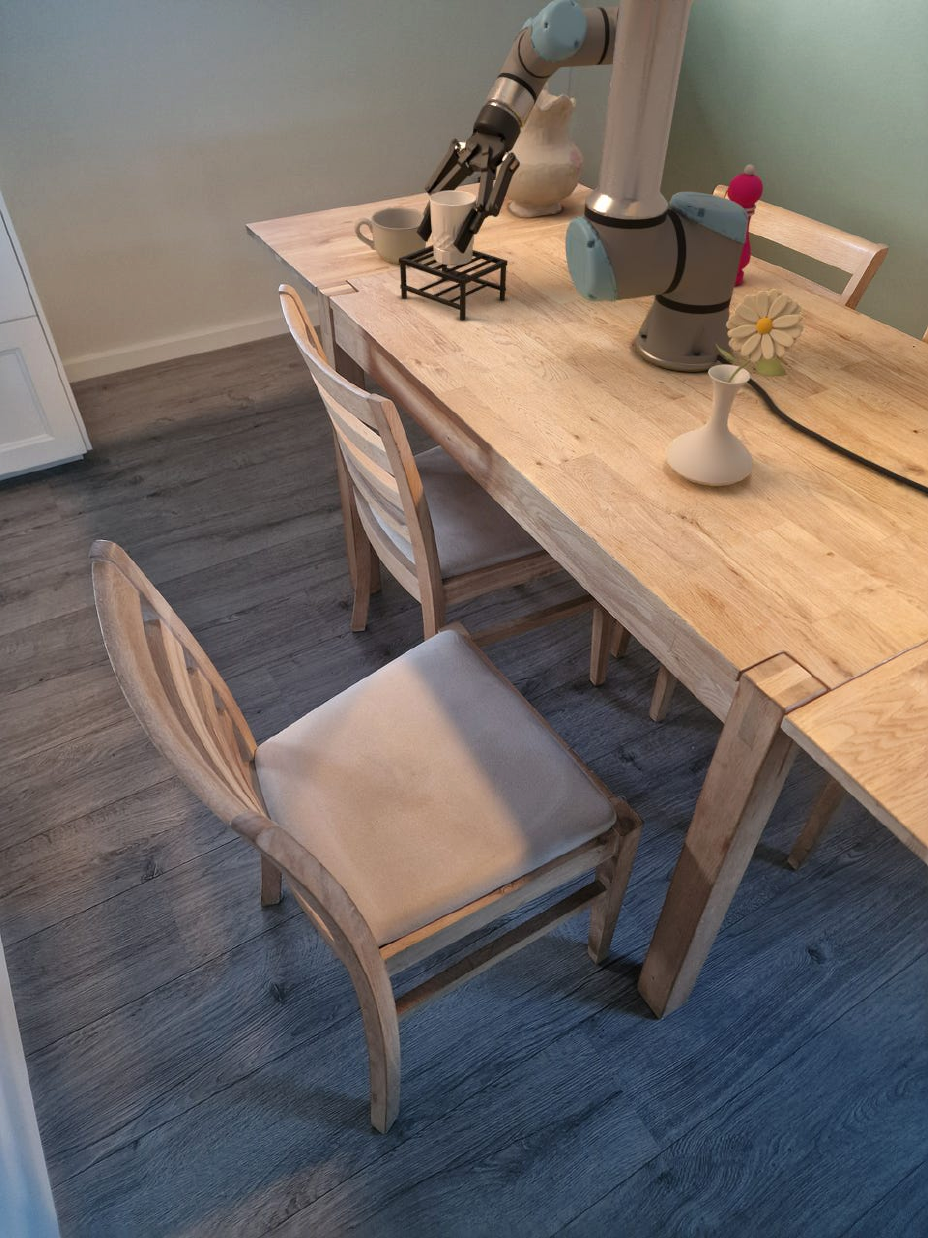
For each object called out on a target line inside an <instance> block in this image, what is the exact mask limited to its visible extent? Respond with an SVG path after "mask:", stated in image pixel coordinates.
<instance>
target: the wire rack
mask: <svg viewBox="0 0 928 1238" xmlns="http://www.w3.org/2000/svg"><path fill="white" fill-rule="evenodd" d="M433 245H434V244H432V245H430V246H427V247H425V248H424V249H422V250H419V251H417V252H414V253H412V254H409V255H407V256H404V257H401V258H399V263H400V264H399V272H400V285H399V288H400V294H401V295H400V296H401V299H404V300H405V299H407V298H408V292H409V293H412V294H413V295H417V296H420V297H422V298H425V299H428V300H430V301H433V302H436V303H440V304H441V305H444V306H447V307H450V308H452V309H455V310H458V311H459V320H460V321H466V319H467V317H466V315H467V314H466V311H467V297H468V296H470V295H472V294H474V293H477V292H478V291H481V290H483V289H485V288H491V289H493V290H497V291H499V298H498V299H499V301H500V302H504V301H505V300H506V292H507V285H506V284H507V282H506V281H507V266H508V260H506V259H504V258H500V257H497V256H494V255H491V254H487V253H485V252H481V251H478V250H475V249H473V257H472V260H471V261H470V262H468V263H466V264H462V265H454V266H453V267H448V266H449V265H445V264H441V263H440V264H439V265H436V266H434V267H432V266H431V265H434V264H436V263H438V262H437V261H436V260H435V259H432V260H430V261H427V262H425V263H420V262H423V261H426V260H428V259H431V258H434V248H433ZM416 258H417V259H416ZM413 259H416V260H414V261H411V260H413ZM481 260H483V262H480V263H478V264H476V265H474V266H471V267H469V268H466V269H464V270H462V271H459V269H461V268H464V267H466V266H468V265H471V264H473V263H474V262H475V263H476V262H478V261H481ZM491 263H492V264H491ZM489 264H491V265H489ZM487 265H488V266H487ZM485 266H487V267H485ZM407 267H410V268H413V269H415V270H418V271H420V272H424V273H426V274H429V275H432V276H436V277H438V278H441V279H439V280H437V281H435V282H432V283H430V284H428V285H426V286H422V287H421V288H416V287H413V286H410V285H407ZM482 267H484V268H482ZM480 268H482V269H480ZM478 269H480V270H478ZM475 270H478V271H476V272H473V271H475ZM497 270H500V275H499V284H497V283H495V282H492V281H489V280H486V279H484V278H482V277H484V276H487V275H488V274H491V273H493V272H495V271H497ZM470 272H473V273H471V274H469V273H470ZM447 281H450V282H452V283H456V284H454V285H452V286H449V287H448V288H446V289H443V290H441V291H439V292H436V293H434V294H432V293H429V292H427V290H429V289H432V288H435V287H437V286H438V285H439V286H440V285H441V284H443V283H446V282H447ZM472 282H473V283H475V284H478V286H476V287H475V288H472V289H470V290H468V291H467V284H469V283H472ZM458 288H459V295H457V296H455V297H453V298H450V299H446V298H443V297H441V296H443V295H445V294H448V293H450V292H452V291H454V290H456V289H458ZM457 301H459V303H457Z"/></svg>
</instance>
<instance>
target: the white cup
mask: <svg viewBox="0 0 928 1238" xmlns="http://www.w3.org/2000/svg"><path fill="white" fill-rule="evenodd" d="M477 199H478V196H476V195H475V194H474V193H472V192H469V191H465V190H464V191H463V190H451V191H441V192H437V193H434V194H433V195H431V196H429V200H430V210H431V227H432V234H431V239H432V243H433V244H432V245H433V248H434V251H433V252H434V256H433V258H434V259H435V260H436V261H437V263H439V264H440V265H441V264H445V265H448V266H457V265H462V264H466V263H468V262H470V261H471V260H472V259H473V258H474V256H473V250H474V244H475V234H474V235H473V237H472V239H471V241H470V243H469V245H468V247H467V249H466V251H465V253H464V254H463V253H460V251H459V250H458V249H457V248H456V247H455V246H454V244H453V243H454V241H455V239H456V237H457V235H458V233H459V232H460V230H461V228H462V226H463V224H464V222H465V220H466V218H467V216H468V214H469V212H470V210H471V209H472V208H473V209H475V210H476V211H477V209H476V207H475V206H474V204H475V205H476V204H477ZM434 259H433V260H434Z"/></svg>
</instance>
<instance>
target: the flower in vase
mask: <svg viewBox="0 0 928 1238" xmlns="http://www.w3.org/2000/svg"><path fill="white" fill-rule="evenodd" d="M734 308H735V309H734V310H733V311H732V314H729V315H730V316H729V321H728V322H727V324H726V326H727V328H729V329H730V330H729V331H728V337H730V338H732V339H731V340H730V341H729V346H730V347H732V351H734V352H737V354H738V355H739V356H742V357H743V358H746V359H747V360H746V361H745V362H743V363H742V364H740V363H739V361H737V359H736V358H735V356H734V355H732V354H729V353H727V352H725V351H724V350H722V349H720V348H719V347H718V346H717V344H716V343H715V344H716V346H717V348H718V350H719V351H720V352H721V353H722V354H723V355H724V356H726V357H727V358H728V359H729V360H730V361H731V362H733V363H735V364H736V365H734V364H733V365H716V366H713V367H711V368H710V369H709V370H707V372H708V376H709V378H710V380H711V382H712V386H713V397H712V405H711V410H710V413H709V417H708V419H707V422H706V423H705V424H704V425H703V426H700V427H698V428H697V427H696V428H695V429H692V430H690V431H687V432H683V434H681V435H678V436H677V437H676V438H674V439H672V441H671V442H669V444H668V446H667V447H666V449H665V452H664V458H665V461H666V463H667V465H668V467H669V469H671V471H672V472H674V473H675V474H676V475H677V476H679V477H681V478H682V479H685V480H686V481H689V482H692V483H695V484H699V485H703V486H710V487H723V486H729V485H733V484H737V483H739V482H741V481H743V480H744V479H745V478H747V477H748V476H749V475H750V474H751V473H752V471H753V468H754V460H753V456H752V454H751V451H750V450H749V449H748V448H747V446H746V445H745V444H744V443H743V442H742V441H741V440H740V439H739V438H738V437H737V436H736V435H734V434H733V432H731V431H730V429H729V427H728V420H729V416H730V413H731V408H732V406H733V402H734V400H735V398H736V396H737V394H738V392H739V391H740V390H741V388H742V387H743V386H744V385H745V384H746V383H747V382H748V381H749V380H750V378H752V376H751V374H750V372H749V371H748V370H746V369H745V368H744V367H745V366H747V365H748V364H749V363H751V362H752V363H754V367H755V369H756V371H757V373H758V374H759V375H760V376H763V377H784V376H787V372H786V370H785V368H784V366H783V364H782V362H781V361H780V359H779V358H783V357H784V356H785V355H786V354H787V353H788V352H789V351H790V348H792V347H793V346H794V344H796V342H797V339H799V338H800V337H801V335H802V332H803V331H804V329H805V328H804V327H805V326H804V325H803V324H802V323H801V322H802V321H803V315H802V314H801V313H800V312H801V311H802V305H801V304H799V303H798V300H796V299H793V298H792V297H791V296H789V294H787V293H783V292H782V291H780V290H779V289H778V288H772V289H771V290H759V291H758V292H757V293H752V294H746V295H745V296H743V298H742V300H741V301H740V303H739V304H737V305H736V306H735V307H734Z"/></svg>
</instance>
